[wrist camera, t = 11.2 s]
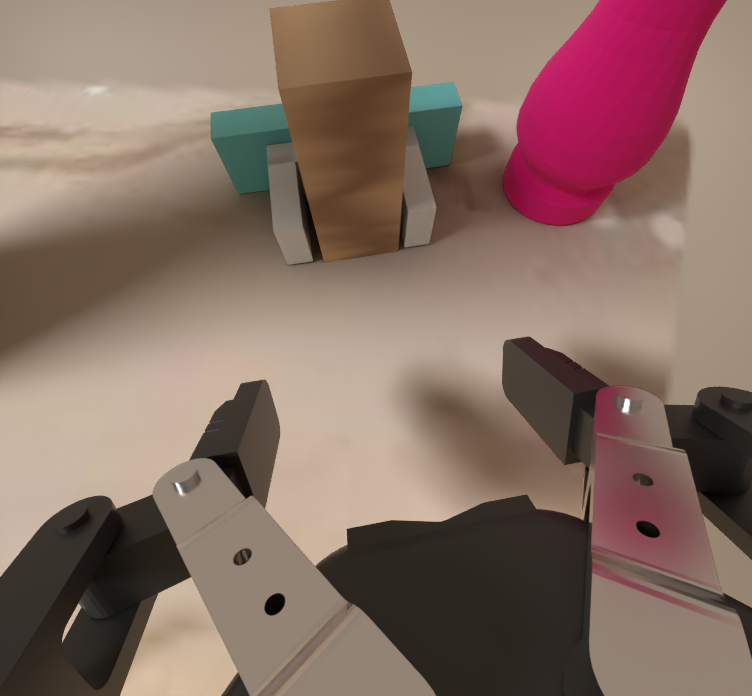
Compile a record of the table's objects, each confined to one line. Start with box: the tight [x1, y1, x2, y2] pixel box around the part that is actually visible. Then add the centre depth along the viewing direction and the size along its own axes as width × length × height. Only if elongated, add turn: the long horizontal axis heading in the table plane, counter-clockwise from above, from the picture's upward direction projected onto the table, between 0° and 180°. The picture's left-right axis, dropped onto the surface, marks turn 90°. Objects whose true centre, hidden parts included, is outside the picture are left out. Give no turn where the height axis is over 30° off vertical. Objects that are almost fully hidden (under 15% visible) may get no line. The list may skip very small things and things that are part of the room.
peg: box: [270, 0, 412, 262], centre depth 17 cm, size 4×4×10 cm
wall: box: [211, 82, 462, 194], centre depth 22 cm, size 14×2×4 cm, turn 100°
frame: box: [266, 126, 437, 265], centre depth 21 cm, size 8×6×3 cm
